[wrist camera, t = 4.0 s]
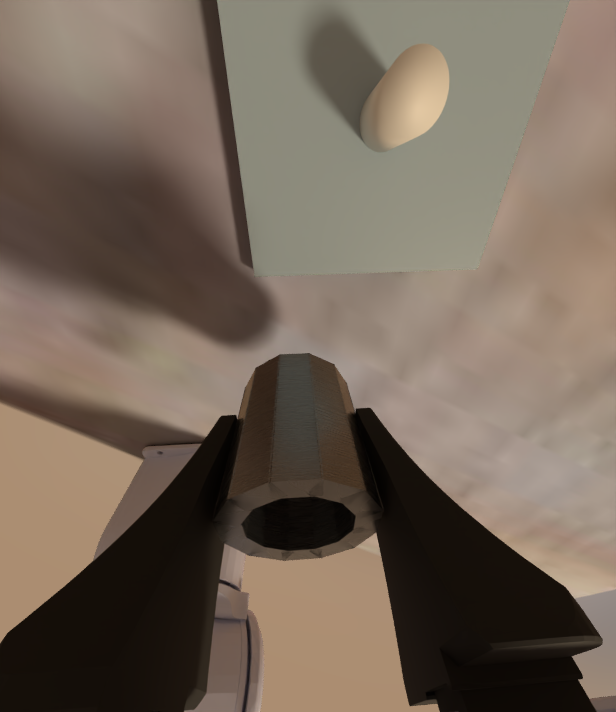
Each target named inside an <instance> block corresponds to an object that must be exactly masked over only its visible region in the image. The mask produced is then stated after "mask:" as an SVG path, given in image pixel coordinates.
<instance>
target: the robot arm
mask: <svg viewBox="0 0 616 712" xmlns="http://www.w3.org/2000/svg"><path fill="white" fill-rule="evenodd" d="M355 414H356V417H357V421H358V424H359V428H360V431H361V434H362V438H363V441H364V445H365V448H366V452H367V455H368V458H369V462H370V465H371V469H372V472H373V476H374V479H375V482H376V486H377V489H378V493H379V496H380V500H381V503H382V506H383V510H384V511H383V514H382V517H381V521H380V524H379V528H378V531H377V532H376V533H377V538H378V543H379V547H380V552H381V557H382V562H383V567H384V572H385V577H386V582H387V587H388V593H389V598H390V603H391V609H392V614H393V620H394V626H395V631H396V637H397V643H398V648H399V655H400V661H401V667H402V673H403V679H404V684H405V689H406V693H407V698H408V702H409V705H410V706H416V705H428V704H438V707H439V710H440V712H616V696H608V697H599V698H592V699H589V698H588V696H587V695H586V693H585V691H584V689H583V687H582V686H581V684H580V683H579V681H578V679H582V678H583V676H582V673H581V671H580V670H579V668H578V666H577V665H576V663H575V661H574V660H573V658H572V657H571V656H574V655H577V654H580V653H582V652H586V651H589V650H592V649H594V648H597V647H599V646H601V645H602V641H603V640H602V638H601V636H600V635H599V633H598V632H597V630H596V629H595V627H594V626H593V624H592V623H591V621H590V620H589V619H588V617H587V616H586V614H585V613H584V611H583V610H582V608H581V607H580V605H579V604H578V603H577V602H576V600H575V599H574V598H573V596H572V595H571V594H570V593H569V591H568V590H567V589H566V587H564V586H563V585H561V584H560V583H559V582H557V581H556V580H554V579H553V578H552V577H550V576H549V575H547V574H546V573H545V572H543V571H542V570H540V569H539V568H537V567H536V566H535V565H533V564H532V563H530V562H529V561H528V560H526V559H525V558H523V557H522V556H521V555H519V554H518V553H517V552H515V551H514V550H513V549H511V548H510V547H509V546H508V545H506V544H505V543H504V542H502V541H501V540H500V539H499V538H497V537H496V536H495V535H493V534H492V533H491V532H490V531H489V530H487V529H486V528H485V527H484V526H483V525H481V524H480V523H479V522H478V521H477V520H475V519H474V518H473V517H472V516H471V515H469V514H468V513H467V512H466V511H464V510H463V509H462V508H461V507H460V506H459V505H458V504H457V503H455V502H454V501H453V500H452V499H451V498H450V497H449V496H448V495H447V494H445V493H444V492H443V491H442V490H441V489H440V488H439V487H438V486H437V485H436V484H435V483H434V482H433V481H432V480H431V479H430V478H429V477H428V476H427V475H426V474H425V473H424V472H423V471H422V470H421V469H420V468H419V467H418V466H417V464H416V463H415V462H414V461H413V460H412V459H411V458H410V457H409V456H408V455H407V453H406V452H405V451H404V450H403V449H402V448H401V446H400V445H399V444H398V443H397V442H396V440H395V439H394V438H393V437H392V436H391V434H390V433H389V432H388V431H387V429H386V428H385V427H384V425H383V424H382V423H381V421H380V420H379V419H378V417H377V416H376V415H375V413H374V412H373V410H372V409H371V408H359V409H356V413H355ZM236 423H237V416H236V415H227V416H221V417H220V418H219V420H218V421H217V423H216V424H215V425H214V427H213V428H212V430H211V431H210V433H209V434H208V436H207V437H206V438H205V440H204V441H203V443H202V444H184V445H166V446H148V447H145V448H144V449H143V451H142V454H143V456H144V457H145V459H144V461H143V463H142V465H141V466H140V468H139V470H138V472H137V473H136V475H135V477H134V479H133V480H132V482H131V484H130V486H129V487H128V489H127V491H126V493H125V494H124V496H123V498H122V500H121V502H120V503H119V505H118V507H117V509H116V511H115V512H114V514H113V516H112V517H111V519H110V521H109V523H108V525H107V526H106V528H105V530H104V532H103V534H102V536H101V538H100V541H99V543H98V546H97V549H96V552H95V556H94V560H93V562H92V563H90V564H89V565H88V566H87V567H86V568H85V569H84V570H83V571H81V573H79V574H78V575H77V576H76V577H75V578H74V579H72V580H71V581H70V582H69V583H68V584H67V585H66V586H65V587H63V588H62V589H61V590H60V591H58V592H57V593H56V594H55V595H53V596H52V597H51V598H50V599H49V600H48V601H46V602H45V603H44V604H42V605H41V606H40V607H39V608H38V609H36V610H35V611H34V612H33V613H32V614H30V615H29V616H28V617H27V618H25V619H24V620H23V621H22V622H21V623H19V624H18V625H17V626H16V627H14V628H13V629H12V630H11V631H9V632H8V633H7V635H6V636H5V637H4V639H3V640H2V642H1V643H0V712H260V709H261V702H262V692H263V681H264V650H263V641H262V636H261V631H260V629H259V626H258V622H257V620H256V617H255V615H254V613H253V612H252V611H250V610H248V602H249V593H245V592H241V587H242V579H243V571H244V564H245V556H246V554H245V553H243V552H241V551H239V550H237V549H235V548H232V547H230V546H228V545H226V544H224V543H222V542H221V539H220V537H219V535H218V533H217V531H216V529H215V527H214V525H213V523H212V519H213V515H214V511H215V507H216V503H217V499H218V495H219V491H220V487H221V483H222V479H223V475H224V471H225V467H226V463H227V459H228V455H229V451H230V447H231V443H232V439H233V435H234V431H235V427H236Z"/></svg>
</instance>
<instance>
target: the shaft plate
mask: <svg viewBox="0 0 616 712" xmlns="http://www.w3.org/2000/svg"><path fill="white" fill-rule="evenodd" d="M569 1H570V0H217V4H218V11H219V19H220V26H221V34H222V41H223V48H224V56H225V63H226V70H227V78H228V85H229V92H230V100H231V107H232V115H233V122H234V129H235V137H236V144H237V151H238V159H239V166H240V173H241V181H242V188H243V195H244V203H245V210H246V218H247V225H248V232H249V240H250V247H251V254H252V262H253V269H254V276H255V277H266V276H296V275H325V274H355V273H384V272H414V271H443V270H473V269H478V266H479V263H480V260H481V258H482V255H483V252H484V249H485V246H486V243H487V240H488V237H489V234H490V231H491V228H492V225H493V223H494V220H495V217H496V214H497V211H498V208H499V205H500V202H501V199H502V196H503V193H504V191H505V188H506V185H507V182H508V179H509V176H510V173H511V170H512V167H513V164H514V161H515V158H516V156H517V153H518V150H519V147H520V144H521V141H522V138H523V135H524V132H525V129H526V126H527V124H528V121H529V118H530V115H531V112H532V109H533V106H534V103H535V100H536V97H537V94H538V91H539V89H540V86H541V83H542V80H543V77H544V74H545V71H546V68H547V65H548V62H549V59H550V56H551V54H552V51H553V48H554V45H555V42H556V39H557V36H558V33H559V30H560V27H561V24H562V22H563V19H564V16H565V13H566V10H567V7H568V4H569Z"/></svg>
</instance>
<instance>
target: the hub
mask: <svg viewBox="0 0 616 712" xmlns="http://www.w3.org/2000/svg"><path fill="white" fill-rule="evenodd" d="M383 511H384V510H383V506H382V503H381V500H380V496H379V493H378V489H377V486H376V482H375V479H374V476H373V472H372V469H371V465H370V462H369V458H368V455H367V452H366V448H365V445H364V441H363V438H362V434H361V431H360V428H359V424H358V421H357V417H356V414H355V410H354V407H353V404H352V400H351V397H350V393H349V390H348V386H347V383H346V382H345V380H344V379H343V377H342V376H341V374H340V373H339V371H338V370H337V368H336V367H335V365H334V364H332V363H330V362H328V361H325V360H323V359H321V358H319V357H316V356H314V355H312V354H310V353H305V354H282V355H278V356H276V357H275V358H273V359H271V360H269V361H267V362H266V363H264V364H262V365H260V366H258V367H256V368H255V371H254V373H253V374H252V376H251V378H250V380H249V382H248V384H247V386H246V387H245V391H244V395H243V399H242V403H241V407H240V411H239V415H238V419H237V423H236V427H235V431H234V435H233V439H232V443H231V447H230V451H229V455H228V459H227V463H226V467H225V471H224V475H223V479H222V483H221V487H220V491H219V495H218V499H217V503H216V507H215V511H214V515H213V519H212V523H213V525H214V527H215V529H216V531H217V533H218V535H219V537H220V539H221V542H222V543H224V544H226V545H228V546H230V547H232V548H235V549H237V550H239V551H241V552H243V553H245V554H247V555H249V556H256V557H263V558H269V559H276V560H283V561H286V560H300V559H313V558H322V557H325V556H329V555H332V554H336V553H339V552H342V551H345V550H349V549H352V548H355V547H356V546H357V545H359V544H360V543H362V542H363V541H365V540H366V539H367V538H369V537H370V536H372V535H373V534H374V533H376V532H377V531H378V528H379V524H380V521H381V517H382V514H383Z"/></svg>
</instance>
